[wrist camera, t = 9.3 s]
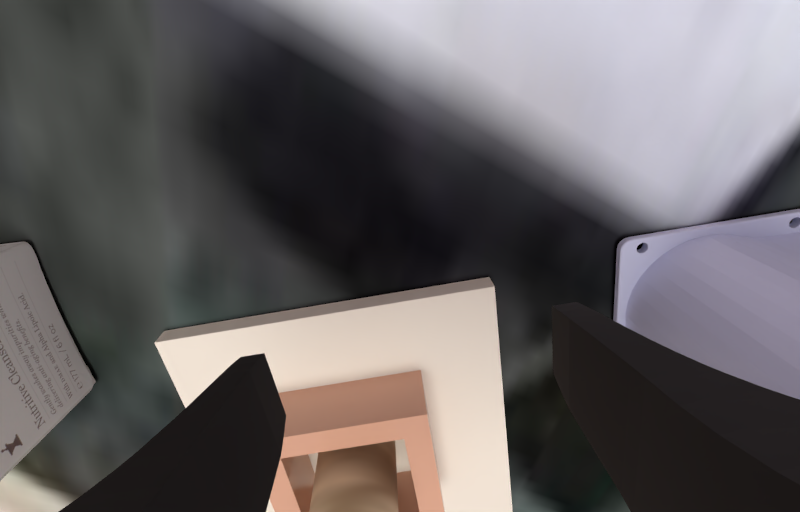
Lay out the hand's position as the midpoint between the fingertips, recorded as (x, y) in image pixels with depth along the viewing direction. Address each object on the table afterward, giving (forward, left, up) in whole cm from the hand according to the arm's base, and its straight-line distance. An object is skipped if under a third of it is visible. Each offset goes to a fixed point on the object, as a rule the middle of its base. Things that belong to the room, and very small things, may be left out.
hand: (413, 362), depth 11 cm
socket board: (+4, +11, -9) cm, 15 cm away
